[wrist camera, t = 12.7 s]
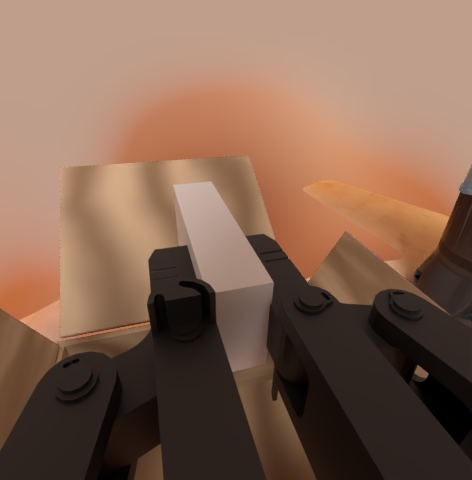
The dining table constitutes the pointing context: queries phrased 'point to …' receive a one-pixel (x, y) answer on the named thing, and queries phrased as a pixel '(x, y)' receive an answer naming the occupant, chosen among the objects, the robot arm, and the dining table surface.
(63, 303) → the carton flap
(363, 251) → the shipping carton
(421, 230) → the dining table surface
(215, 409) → the robot arm
